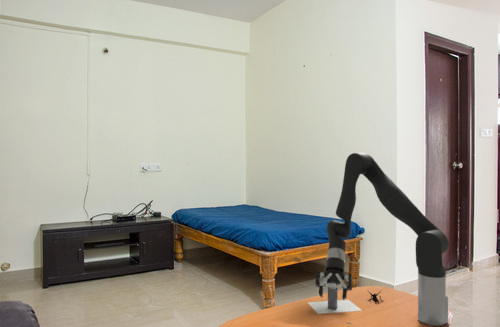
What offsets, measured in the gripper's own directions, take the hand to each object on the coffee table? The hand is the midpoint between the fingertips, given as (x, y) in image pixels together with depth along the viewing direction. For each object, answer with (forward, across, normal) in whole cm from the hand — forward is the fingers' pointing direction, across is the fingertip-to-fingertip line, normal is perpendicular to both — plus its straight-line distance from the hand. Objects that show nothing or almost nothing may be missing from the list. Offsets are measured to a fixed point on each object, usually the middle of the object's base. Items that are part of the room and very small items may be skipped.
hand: (332, 297), depth 150 cm
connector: (+2, 0, +4) cm, 5 cm away
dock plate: (+2, 0, +6) cm, 6 cm away
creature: (-6, +16, +14) cm, 22 cm away
